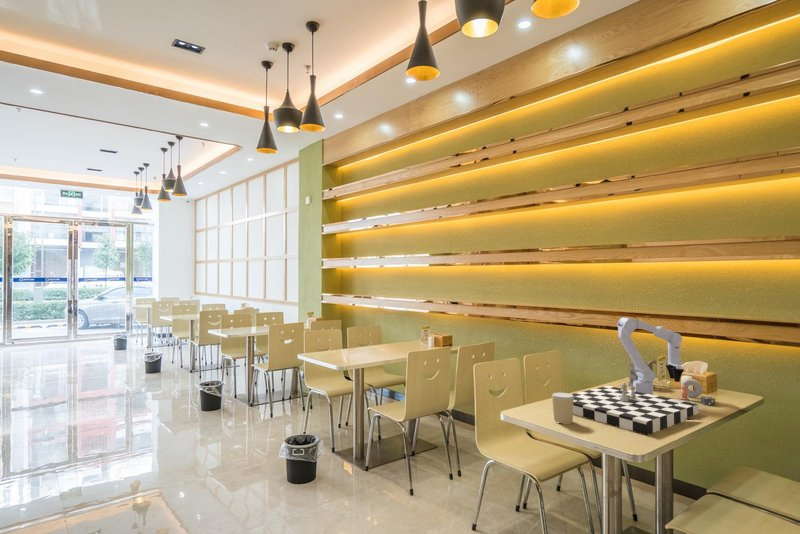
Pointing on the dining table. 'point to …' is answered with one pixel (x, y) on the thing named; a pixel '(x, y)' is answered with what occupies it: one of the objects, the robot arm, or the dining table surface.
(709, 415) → the dining table surface
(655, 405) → the checkerboard
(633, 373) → the tankard
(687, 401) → the track board
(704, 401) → the die
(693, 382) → the donut
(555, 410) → the coffee cup
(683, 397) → the pawn
